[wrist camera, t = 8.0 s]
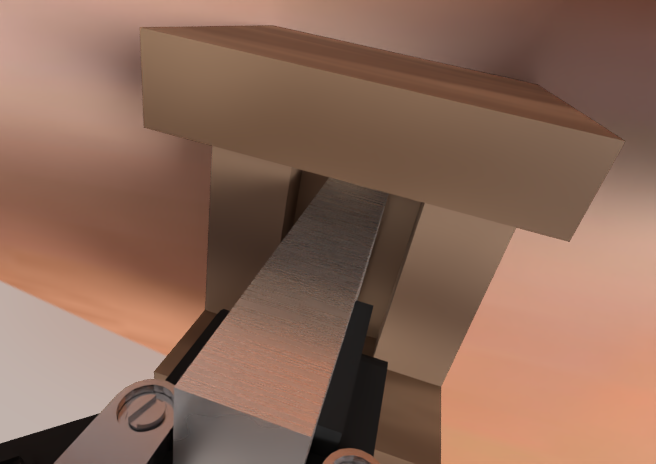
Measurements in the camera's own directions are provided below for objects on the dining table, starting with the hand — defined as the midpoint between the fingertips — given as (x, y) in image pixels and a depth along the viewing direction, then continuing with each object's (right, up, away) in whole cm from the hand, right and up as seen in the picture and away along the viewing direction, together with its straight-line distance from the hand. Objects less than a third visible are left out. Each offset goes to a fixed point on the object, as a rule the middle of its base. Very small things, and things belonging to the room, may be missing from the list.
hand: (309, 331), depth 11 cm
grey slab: (+1, +2, +4) cm, 5 cm away
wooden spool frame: (+2, +4, +7) cm, 8 cm away
